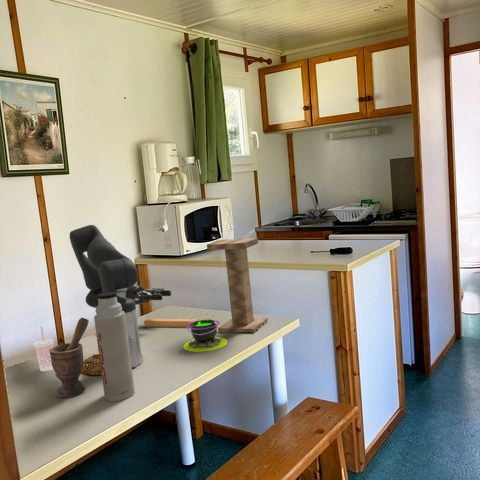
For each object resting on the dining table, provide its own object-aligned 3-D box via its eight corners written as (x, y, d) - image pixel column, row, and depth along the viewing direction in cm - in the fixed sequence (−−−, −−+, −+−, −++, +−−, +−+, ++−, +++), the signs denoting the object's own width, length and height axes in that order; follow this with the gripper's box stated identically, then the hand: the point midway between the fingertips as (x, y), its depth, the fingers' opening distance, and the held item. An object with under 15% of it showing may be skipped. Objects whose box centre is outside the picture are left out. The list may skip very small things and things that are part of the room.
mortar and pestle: (77, 381, 158) (68, 315, 156) (101, 383, 155) (92, 316, 153) (49, 397, 148) (39, 327, 146) (74, 400, 144) (64, 328, 142)
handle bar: (144, 327, 213) (143, 320, 213) (148, 324, 216) (147, 318, 215) (194, 327, 205) (194, 321, 205) (198, 325, 208) (197, 319, 207)
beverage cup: (61, 366, 174) (55, 324, 172) (45, 373, 169) (39, 329, 167) (49, 364, 177) (43, 323, 175) (33, 370, 172) (27, 328, 170)
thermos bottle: (105, 403, 140) (91, 298, 137) (103, 392, 148) (90, 293, 144) (136, 397, 142) (123, 293, 139) (133, 386, 150) (120, 288, 147)
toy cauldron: (176, 352, 177) (172, 319, 176) (193, 337, 192) (190, 307, 190) (218, 352, 173) (215, 319, 171) (233, 337, 187) (230, 306, 186)
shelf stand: (214, 331, 195) (205, 245, 192) (230, 321, 208) (222, 239, 204) (254, 333, 189) (245, 243, 186) (267, 321, 202) (260, 237, 198)
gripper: (118, 290, 209) (155, 290, 203) (139, 282, 222) (174, 281, 216) (120, 309, 210) (157, 309, 204) (141, 299, 223) (176, 299, 217)
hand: (166, 295), depth 210 cm, fingers open, 6 cm apart
